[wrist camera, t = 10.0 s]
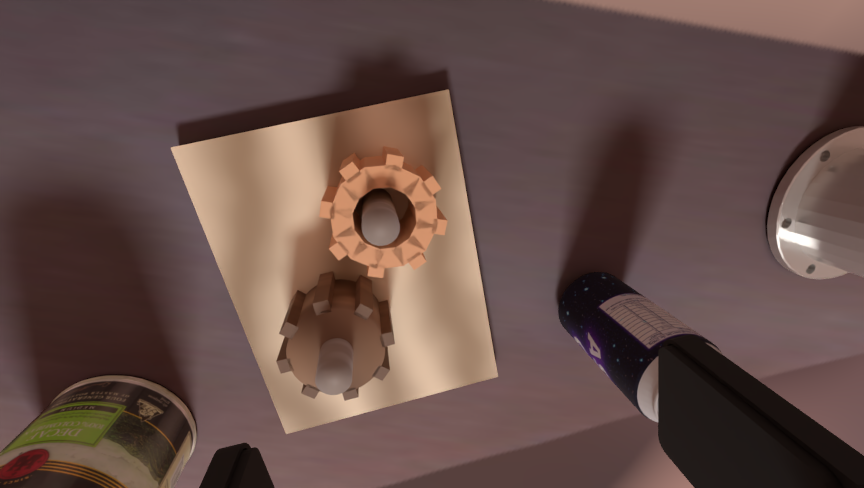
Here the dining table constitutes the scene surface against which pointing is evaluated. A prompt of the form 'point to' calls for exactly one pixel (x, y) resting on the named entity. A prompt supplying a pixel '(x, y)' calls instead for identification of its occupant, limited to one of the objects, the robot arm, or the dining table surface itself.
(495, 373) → the gear board
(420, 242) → the loose gear
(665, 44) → the dining table surface
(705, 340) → the beverage can
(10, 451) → the coffee can
